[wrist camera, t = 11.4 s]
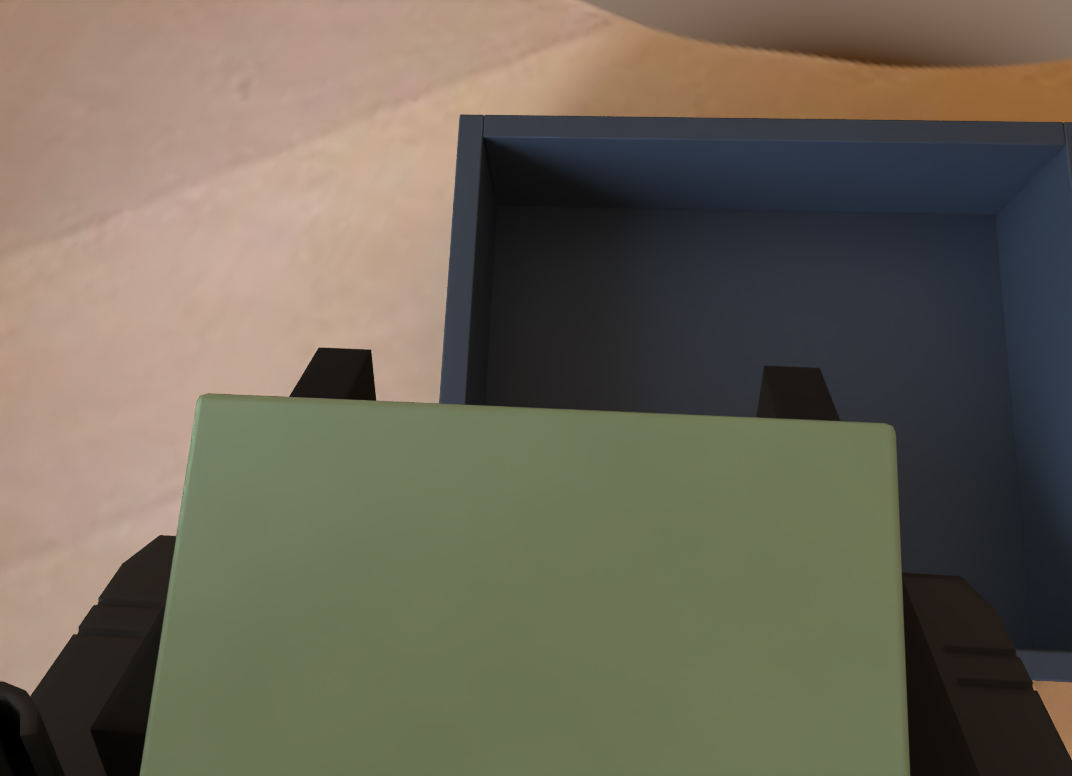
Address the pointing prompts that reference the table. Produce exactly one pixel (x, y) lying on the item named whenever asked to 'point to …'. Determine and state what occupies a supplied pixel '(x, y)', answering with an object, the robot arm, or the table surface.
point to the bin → (798, 306)
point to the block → (530, 595)
